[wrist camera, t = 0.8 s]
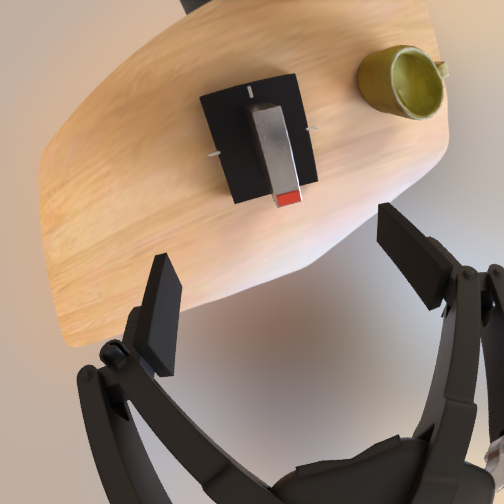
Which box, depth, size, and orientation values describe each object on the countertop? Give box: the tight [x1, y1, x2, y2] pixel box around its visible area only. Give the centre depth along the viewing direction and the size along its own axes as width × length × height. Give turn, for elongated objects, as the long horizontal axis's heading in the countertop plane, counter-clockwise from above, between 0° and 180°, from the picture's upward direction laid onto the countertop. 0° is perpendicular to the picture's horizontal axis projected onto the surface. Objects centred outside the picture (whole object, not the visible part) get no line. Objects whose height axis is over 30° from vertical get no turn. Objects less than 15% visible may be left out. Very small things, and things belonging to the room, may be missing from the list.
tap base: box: [200, 73, 318, 204], centre depth 31 cm, size 14×13×3 cm
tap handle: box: [243, 101, 302, 208], centre depth 26 cm, size 9×2×9 cm, turn 15°
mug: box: [358, 45, 449, 120], centre depth 25 cm, size 12×10×10 cm
